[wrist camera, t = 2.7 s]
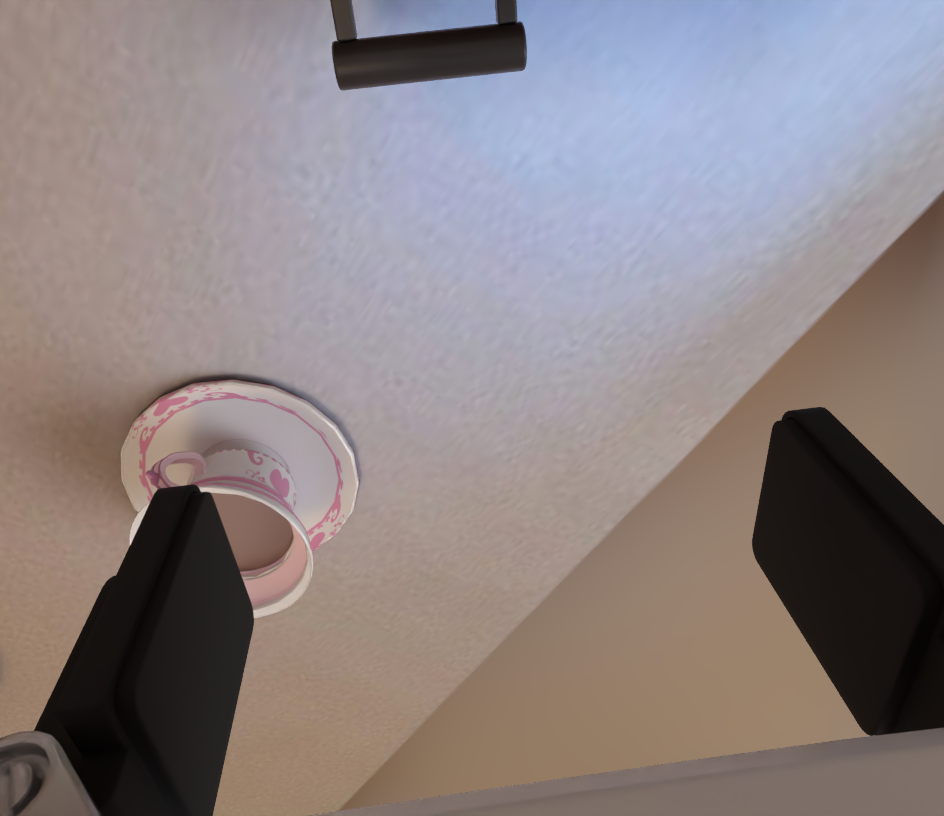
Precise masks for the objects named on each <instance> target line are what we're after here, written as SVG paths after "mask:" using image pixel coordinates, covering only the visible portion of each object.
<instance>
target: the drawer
mask: <svg viewBox="0 0 944 816" xmlns="http://www.w3.org/2000/svg"><path fill="white" fill-rule="evenodd" d="M330 1H331V7H332V13H333V19H334V24H335V30H336V36H337V40H338V41H334V42H333V43H332V56H333V63H334V69H335V74H336V79H337V83H338V86H339V88H340V90H350V89H359V88H368V87H378V86H387V85H396V84H405V83H414V82H424V81H433V80H442V79H451V78H460V77H469V76H479V75H488V74H497V73H506V72H515V71H523V70H524V69H525V67H526V60H527V47H526V35H525V29H524V26H523V23H522V22H520V21H519V22H517V5H516V0H495V9H496V21H497V23H499V24H491V25H482V26H472V27H463V28H454V29H444V30H435V31H426V32H416V33H407V34H398V35H388V36H379V37H370V38H360V39H356V38H357V32H356V25H355V19H354V12H353V6H352V0H330Z"/></svg>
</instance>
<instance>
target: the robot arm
mask: <svg viewBox="0 0 944 816" xmlns="http://www.w3.org/2000/svg"><path fill="white" fill-rule="evenodd" d="M752 547H753V552H754V555H755V558H756V560H757V562H758V564H759V565H760V567H761V569H762V570H763V572H764V573H765V575H766V577H767V578H768V580H769V582H770V583H771V585H772V586H773V588H774V590H775V591H776V593H777V594H778V596H779V598H780V599H781V601H782V602H783V604H784V606H785V607H786V609H787V610H788V612H789V614H790V615H791V617H792V618H793V620H794V622H795V623H796V625H797V626H798V628H799V629H800V631H801V633H802V634H803V636H804V638H805V639H806V641H807V643H808V644H809V646H810V647H811V649H812V650H813V652H814V654H815V655H816V657H817V659H818V660H819V662H820V663H821V665H822V667H823V668H824V670H825V671H826V673H827V675H828V676H829V678H830V679H831V681H832V683H833V684H834V686H835V687H836V689H837V691H838V692H839V694H840V696H841V697H842V699H843V700H844V702H845V703H846V705H847V707H848V708H849V710H850V711H851V713H852V715H853V716H854V718H855V720H856V721H857V723H858V724H859V726H860V727H861V729H862V730H863V731H864V732H865V733H866V734H868V735H870V736H869V737H861V738H852V739H844V740H837V741H830V742H822V743H814V744H808V745H800V746H793V747H785V748H778V749H771V750H763V751H757V752H749V753H741V754H734V755H727V756H719V757H712V758H705V759H698V760H691V761H683V762H675V763H668V764H661V765H654V766H647V767H640V768H633V769H626V770H619V771H612V772H605V773H598V774H591V775H584V776H577V777H569V778H562V779H556V780H548V781H542V782H534V783H528V784H521V785H513V786H506V787H500V788H492V789H485V790H478V791H472V792H465V793H458V794H451V795H445V796H438V797H431V798H424V799H417V800H411V801H404V802H397V803H391V804H383V805H377V806H370V807H363V808H356V809H350V810H343V811H336V812H329V813H322V814H316V815H309V816H944V525H943V524H942V523H941V522H940V521H939V520H938V519H937V518H936V517H935V516H934V515H933V514H932V513H931V512H930V511H929V510H928V509H927V508H926V507H925V506H924V505H923V504H922V503H921V502H920V501H919V500H918V499H917V498H916V497H915V496H914V495H913V494H912V493H911V492H910V491H909V490H908V489H907V488H906V487H905V486H904V485H903V484H902V483H901V482H900V481H899V480H898V479H897V478H896V477H895V476H894V475H893V474H892V473H891V472H890V471H889V470H888V469H887V468H886V467H885V466H884V465H883V464H882V463H881V462H880V461H879V460H878V459H877V458H876V457H875V456H874V455H873V454H872V453H871V452H870V451H869V450H868V449H867V448H866V447H865V446H864V445H863V444H862V443H860V442H859V440H858V439H857V438H856V437H855V436H854V435H853V434H852V433H851V432H849V430H848V429H847V428H846V427H845V426H843V425H842V424H841V423H840V422H839V421H838V420H837V419H836V418H835V417H834V416H833V415H832V414H831V413H830V412H829V411H828V410H827V409H825V408H823V407H817V408H808V409H800V410H792V411H788V412H786V413H785V414H784V415H783V417H782V420H781V421H777V422H775V423H774V425H773V428H772V433H771V438H770V444H769V449H768V455H767V461H766V467H765V472H764V477H763V483H762V489H761V494H760V499H759V505H758V510H757V516H756V522H755V527H754V533H753V539H752ZM253 625H254V613H253V607H252V603H251V601H250V598H249V595H248V592H247V590H246V587H245V584H244V581H243V579H242V576H241V573H240V570H239V568H238V565H237V562H236V559H235V556H234V554H233V551H232V548H231V545H230V543H229V540H228V537H227V534H226V532H225V529H224V526H223V523H222V521H221V518H220V515H219V512H218V510H217V507H216V504H215V501H214V499H213V496H212V494H211V493H210V492H201V491H200V489H199V488H198V486H197V485H194V484H192V485H184V486H176V487H167V488H160V489H158V490H157V491H156V492H155V493H154V495H153V497H152V500H151V502H150V504H149V506H148V508H147V510H146V513H145V515H144V517H143V519H142V521H141V523H140V525H139V528H138V530H137V532H136V534H135V536H134V538H133V540H132V543H131V545H130V547H129V549H128V551H127V553H126V556H125V558H124V560H123V562H122V564H121V566H120V568H119V571H118V573H117V575H116V576H113V577H111V578H110V579H109V580H107V582H106V583H105V585H104V586H103V588H102V589H101V592H100V594H99V596H98V598H97V600H96V602H95V604H94V606H93V608H92V610H91V613H90V615H89V617H88V619H87V621H86V623H85V625H84V627H83V629H82V631H81V633H80V636H79V638H78V640H77V642H76V644H75V646H74V648H73V650H72V652H71V654H70V656H69V659H68V661H67V663H66V665H65V667H64V669H63V671H62V673H61V675H60V677H59V679H58V682H57V684H56V686H55V688H54V690H53V692H52V694H51V696H50V698H49V700H48V702H47V705H46V707H45V709H44V711H43V713H42V715H41V717H40V719H39V721H38V723H37V725H36V728H35V730H34V731H24V732H18V733H14V734H11V735H8V736H5V737H2V738H0V816H213V811H214V806H215V802H216V797H217V792H218V788H219V783H220V779H221V774H222V769H223V765H224V760H225V755H226V751H227V746H228V742H229V737H230V732H231V728H232V723H233V718H234V714H235V709H236V705H237V700H238V695H239V691H240V686H241V682H242V677H243V672H244V668H245V663H246V658H247V654H248V649H249V645H250V640H251V635H252V631H253ZM873 735H875V736H873Z"/></svg>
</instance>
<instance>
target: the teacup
mask: <svg viewBox="0 0 944 816" xmlns="http://www.w3.org/2000/svg"><path fill="white" fill-rule="evenodd" d="M121 480H122V483H123V485H124V487H125V490H126V492H127V494H128V497H129V499H130V501H131V503H132V506H133V508H134V509H135V510H136V511H137V512H138V514H137V515H136V517H135V519H134V521H133V523H132V526H131V529H130V535H129V544H130V545H131V543H132V540H133V538H134V536H135V534H136V532H137V530H138V528H139V525H140V523H141V521H142V519H143V517H144V515H145V513H146V510H147V508H148V506H149V504H150V502H151V500H152V497H153V495H154V493H155V492H156V491H157V490H158V489H160V488H167V487H176V486H184V485H192V484H194V485H197V486H198V488H199V489H200V491H201V492H210V493H211V494H212V496H213V499H214V501H215V504H216V507H217V510H218V512H219V515H220V518H221V521H222V523H223V526H224V529H225V532H226V534H227V537H228V540H229V543H230V545H231V548H232V551H233V554H234V556H235V559H236V562H237V565H238V568H239V570H240V573H241V576H242V579H243V581H244V584H245V587H246V590H247V592H248V595H249V598H250V601H251V603H252V607H253V613H254V618H259V617H264V616H268V615H272V614H275V613H277V612H280V611H282V610H284V609H286V608H287V607H289V606H290V605H292V604H293V603H294V602H296V601H297V600H298V599H299V598H300V597H301V595H302V594H303V593H304V591H305V590H306V588H307V586H308V584H309V582H310V580H311V577H312V573H313V556H312V551H314V550H315V549H317V548H318V547H319V546H321V545H322V544H323V543H325V542H326V541H327V540H329V539H330V538H332V537H333V536H334V535H336V534H337V533H338V532H339V530H340V529H341V527H342V526H343V524H344V523H345V521H346V520H347V518H348V517H349V516H350V514H351V513H352V511H353V508H354V504H355V499H356V494H357V490H358V485H359V478H358V472H357V467H356V462H355V457H354V452H353V450H352V449H351V447H350V446H349V444H348V442H347V441H346V439H345V438H344V436H343V434H342V433H341V431H340V430H339V428H338V426H337V425H336V424H335V423H334V422H332V421H331V420H330V419H329V418H328V417H326V416H325V415H324V414H323V413H322V412H320V411H319V410H318V409H317V408H316V407H314V406H313V405H312V404H311V403H310V402H308V401H306V400H304V399H301V398H299V397H297V396H295V395H292V394H290V393H288V392H286V391H284V390H281V389H279V388H277V387H275V386H271V385H265V384H259V383H253V382H246V381H240V380H234V379H231V380H221V381H211V382H201V383H193V384H191V385H188V386H186V387H183V388H181V389H179V390H176V391H174V392H171V393H169V394H167V395H164V396H162V397H159V398H158V399H157V400H156V401H155V402H154V403H153V404H152V405H151V406H150V407H148V408H147V409H146V410H145V411H144V412H143V413H142V414H141V415H140V416H139V417H137V418H136V419H135V421H134V422H133V425H132V427H131V429H130V431H129V433H128V436H127V438H126V440H125V442H124V445H123V447H122V449H121Z"/></svg>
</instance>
